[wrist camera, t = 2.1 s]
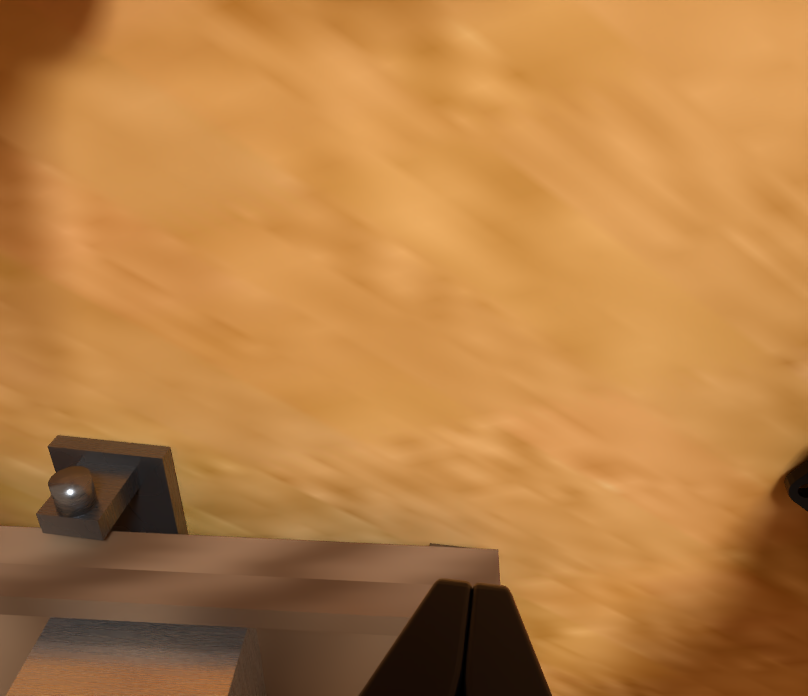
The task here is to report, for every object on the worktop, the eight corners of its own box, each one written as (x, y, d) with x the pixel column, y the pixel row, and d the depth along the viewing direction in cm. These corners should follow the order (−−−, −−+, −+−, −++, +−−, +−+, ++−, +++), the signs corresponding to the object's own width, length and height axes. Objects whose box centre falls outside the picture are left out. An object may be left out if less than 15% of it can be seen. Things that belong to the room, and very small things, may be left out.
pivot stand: (483, 467, 23) (476, 540, 20) (465, 720, 30) (458, 800, 27) (-217, 395, 26) (-301, 451, 24) (-91, 638, 33) (-146, 702, 30)
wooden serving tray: (498, 549, 23) (502, 622, 21) (482, 721, 27) (484, 796, 25) (-305, 511, 24) (-384, 575, 22) (-193, 680, 29) (-250, 748, 27)
